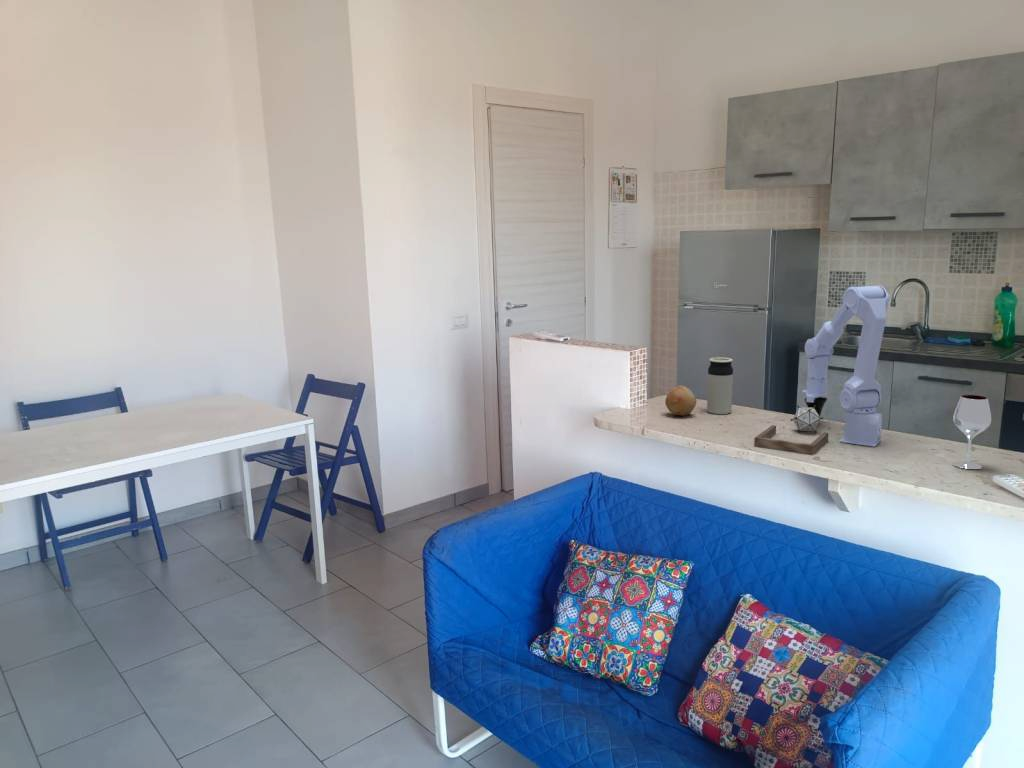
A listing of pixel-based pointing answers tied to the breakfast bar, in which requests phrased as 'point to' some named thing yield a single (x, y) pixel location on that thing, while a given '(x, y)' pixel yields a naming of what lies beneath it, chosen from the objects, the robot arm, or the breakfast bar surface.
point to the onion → (680, 401)
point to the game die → (806, 419)
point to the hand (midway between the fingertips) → (814, 420)
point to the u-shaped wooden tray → (788, 442)
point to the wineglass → (971, 422)
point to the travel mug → (720, 386)
